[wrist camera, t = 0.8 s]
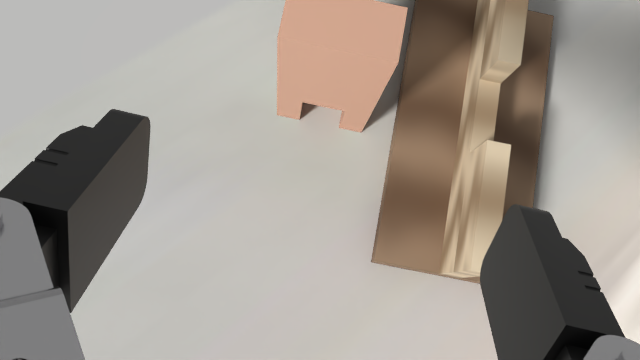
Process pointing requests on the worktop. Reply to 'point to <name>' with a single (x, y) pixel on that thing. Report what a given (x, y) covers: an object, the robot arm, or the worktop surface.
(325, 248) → the worktop surface
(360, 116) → the slotted upright
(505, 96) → the ridged rail
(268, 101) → the worktop surface
